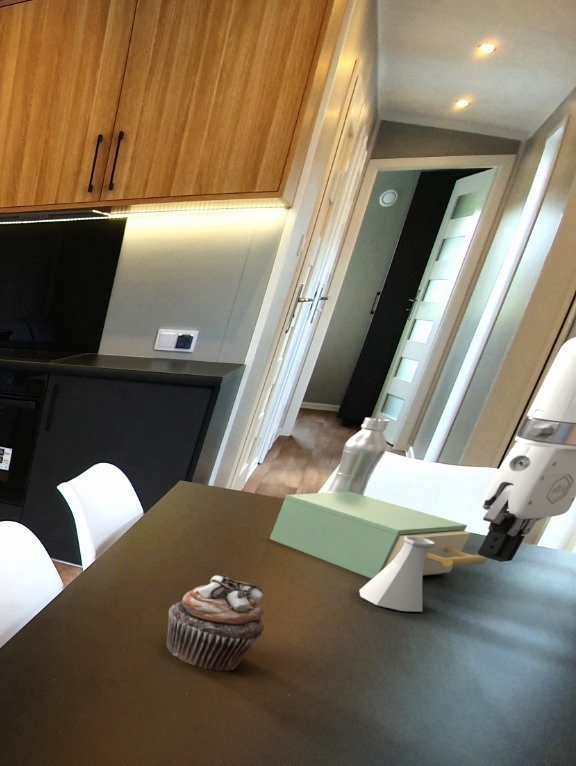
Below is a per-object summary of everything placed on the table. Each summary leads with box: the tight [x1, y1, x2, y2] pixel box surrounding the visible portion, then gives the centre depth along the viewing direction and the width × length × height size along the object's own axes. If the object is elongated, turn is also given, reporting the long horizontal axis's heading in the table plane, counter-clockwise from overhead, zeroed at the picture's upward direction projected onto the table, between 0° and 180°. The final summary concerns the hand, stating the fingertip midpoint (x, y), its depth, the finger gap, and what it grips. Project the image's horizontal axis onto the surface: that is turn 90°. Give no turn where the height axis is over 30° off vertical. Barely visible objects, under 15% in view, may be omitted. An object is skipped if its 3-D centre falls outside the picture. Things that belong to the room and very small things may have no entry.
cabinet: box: [269, 492, 468, 580], centre depth 110 cm, size 19×15×9 cm
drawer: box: [384, 530, 487, 576], centre depth 106 cm, size 22×13×7 cm, turn 13°
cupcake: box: [165, 573, 265, 672], centre depth 77 cm, size 10×10×10 cm
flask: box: [359, 536, 435, 613], centre depth 92 cm, size 7×7×10 cm
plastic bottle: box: [325, 416, 390, 496], centre depth 127 cm, size 6×7×20 cm
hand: (493, 557), depth 94 cm, fingers closed
